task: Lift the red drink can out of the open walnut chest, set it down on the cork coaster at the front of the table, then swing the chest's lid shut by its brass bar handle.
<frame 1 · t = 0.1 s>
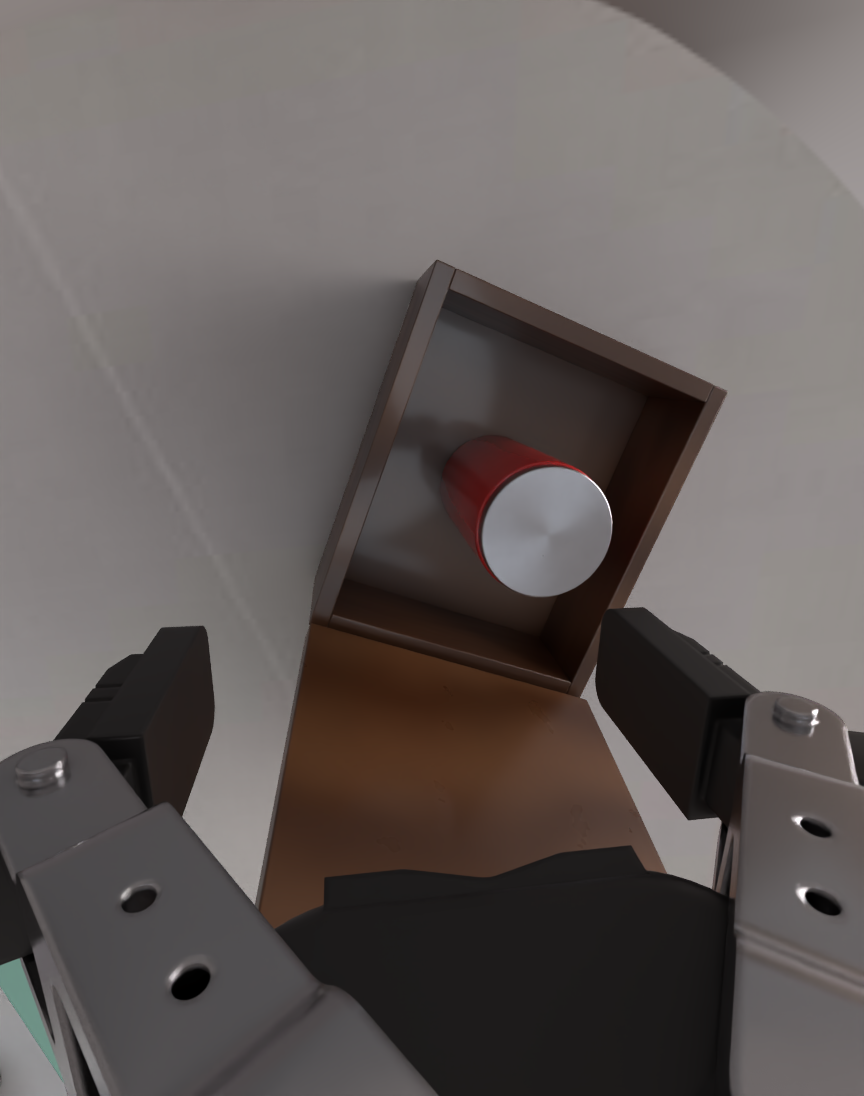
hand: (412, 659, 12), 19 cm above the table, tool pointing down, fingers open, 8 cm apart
container: (103, 963, 37), on the table
lid: (455, 869, 20), point 14 cm above the table, hinge at 100.0°
can: (489, 486, 30), point 1 cm above the table, touching chest
chest: (486, 483, 31), on the table
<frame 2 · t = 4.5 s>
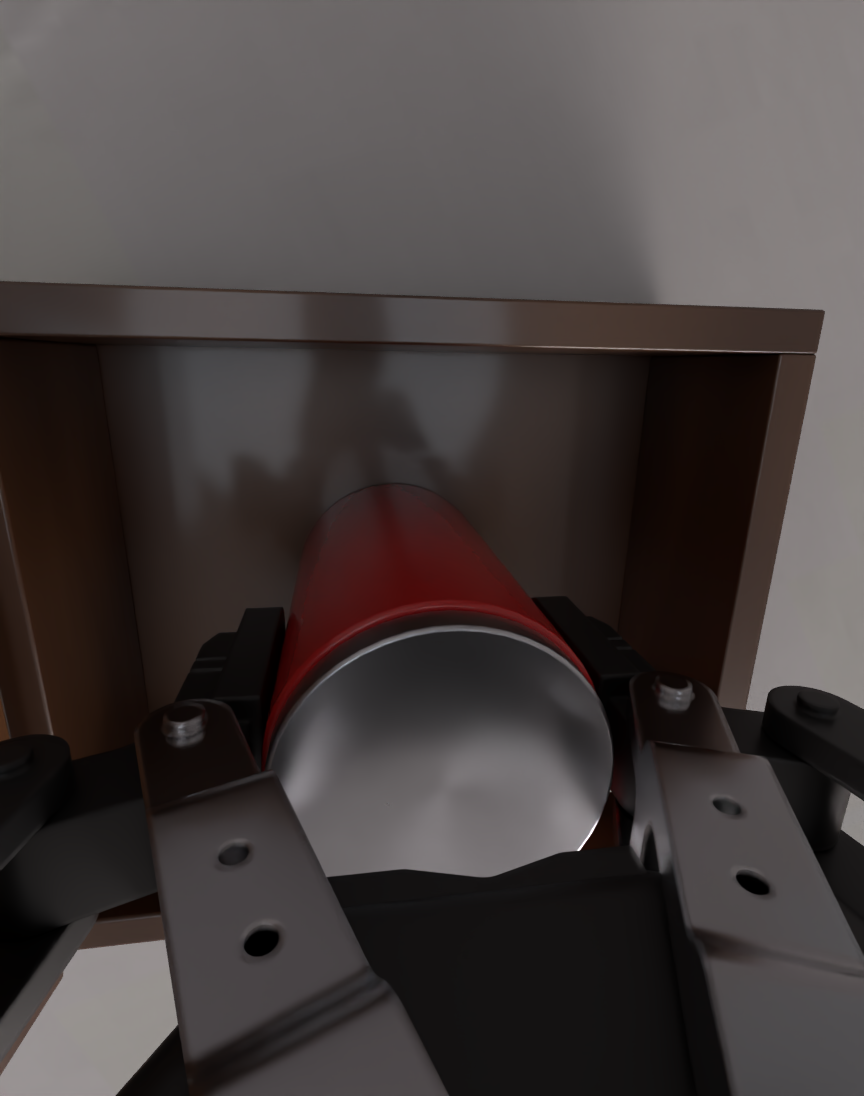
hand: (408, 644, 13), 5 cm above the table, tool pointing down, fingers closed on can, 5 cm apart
can: (392, 573, 17), point 1 cm above the table, touching chest, gripper
chest: (390, 564, 17), on the table
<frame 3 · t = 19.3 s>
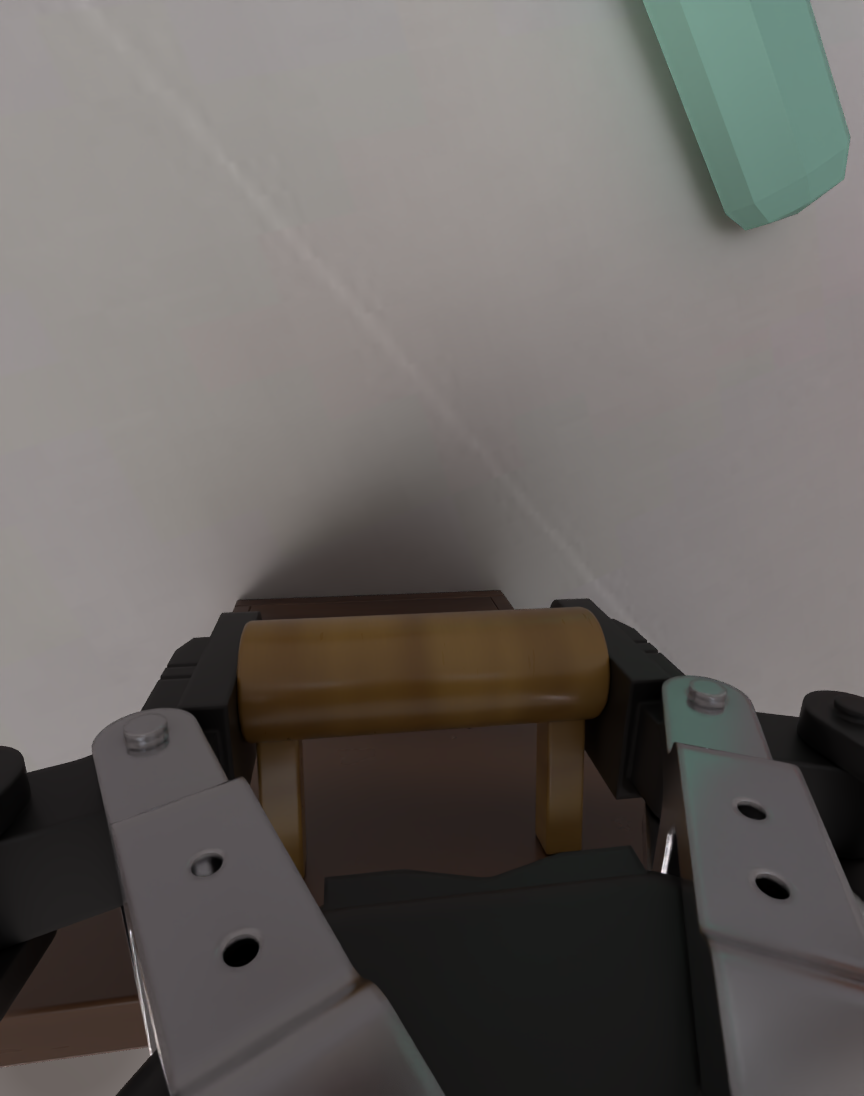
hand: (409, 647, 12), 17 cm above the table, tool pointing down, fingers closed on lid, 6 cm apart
lid: (396, 658, 16), point 14 cm above the table, hinge at 100.0°, touching gripper
chest: (374, 725, 33), on the table
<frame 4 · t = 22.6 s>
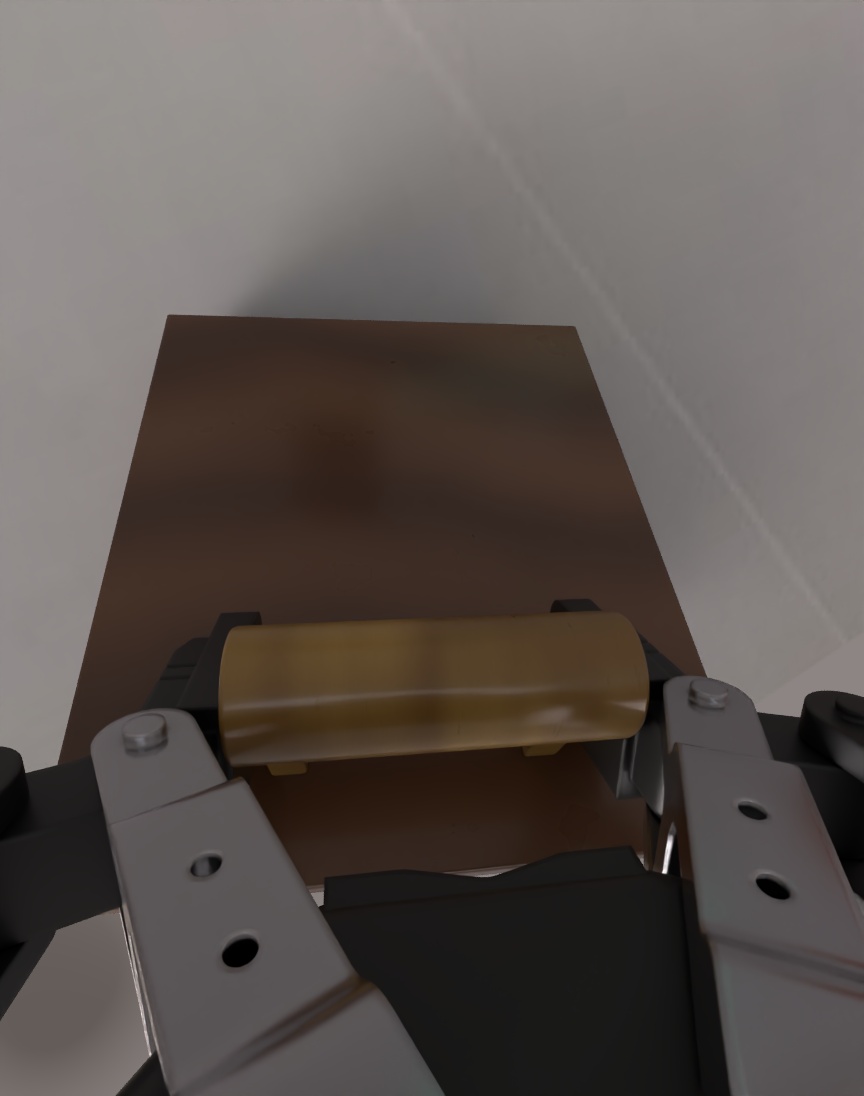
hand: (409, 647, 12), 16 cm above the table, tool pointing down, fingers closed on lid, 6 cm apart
lid: (401, 466, 14), point 14 cm above the table, hinge at 50.5°, touching gripper
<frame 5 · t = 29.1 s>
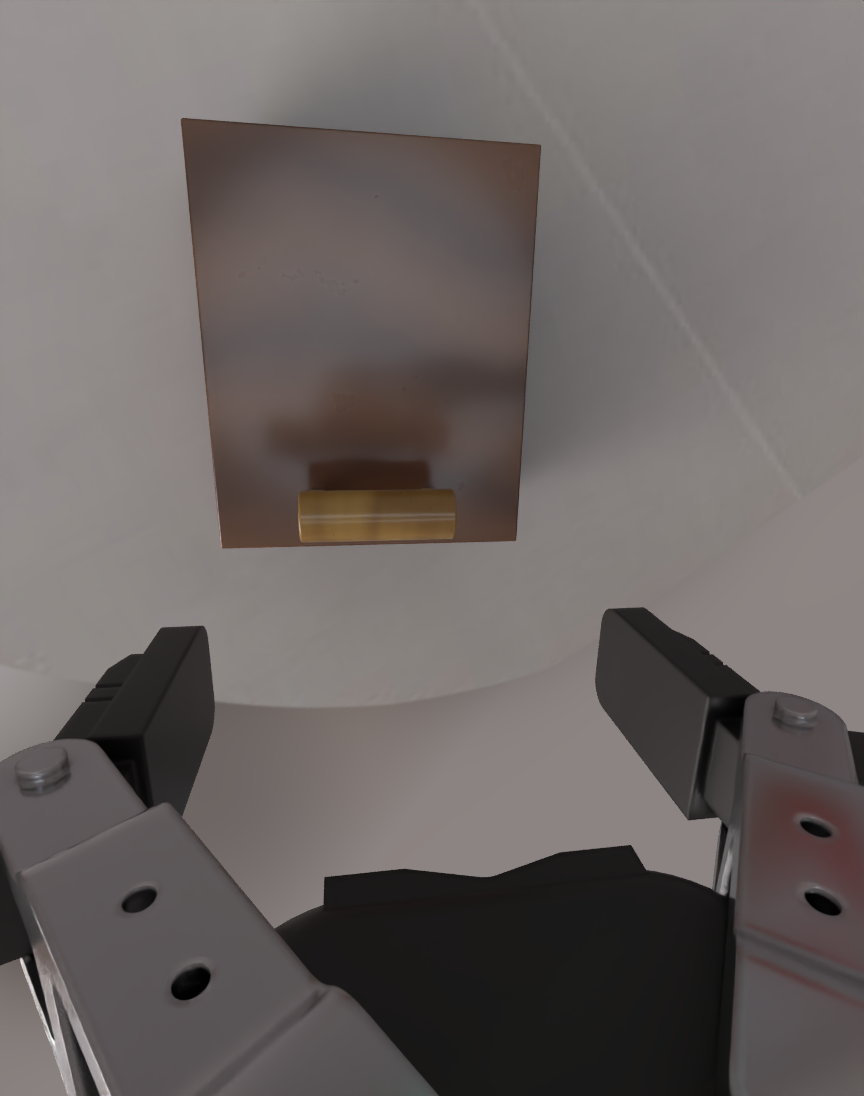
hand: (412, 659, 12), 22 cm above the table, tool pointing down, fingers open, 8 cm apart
lid: (373, 358, 23), point 8 cm above the table, hinge at -0.2°, touching chest
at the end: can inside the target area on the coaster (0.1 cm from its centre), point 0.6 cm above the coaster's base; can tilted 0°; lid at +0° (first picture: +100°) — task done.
